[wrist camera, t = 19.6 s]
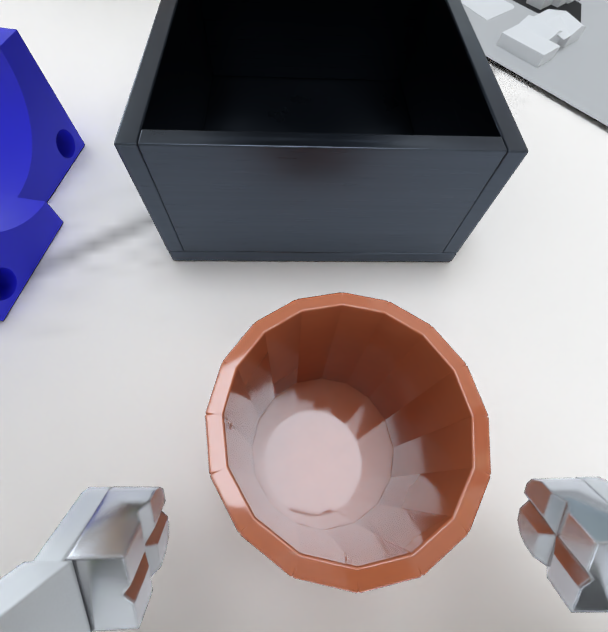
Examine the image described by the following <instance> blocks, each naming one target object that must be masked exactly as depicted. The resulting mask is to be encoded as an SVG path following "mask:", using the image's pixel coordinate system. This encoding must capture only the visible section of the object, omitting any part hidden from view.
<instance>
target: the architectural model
mask: <svg viewBox="0 0 608 632" xmlns="http://www.w3.org/2000/svg"><path fill="white" fill-rule="evenodd" d="M461 2H462V4H463V7H464V9H465V11H466V13H467V16H468V18H469V20H470V22H471V24H472V27H473V29H474V31H475V33H476V36H477V38H478V40H479V42H480V44H481V47H482V49H483V51H484V53H485V56H487V57H488V58H490V59H492V60H494V61H495V62H497V63H499V64H500V65H502V66H504V67H506V68H507V69H509V70H511V71H513V72H514V73H516V74H518V75H520V76H521V77H523V78H525V79H526V80H528V81H530V82H532V83H533V84H535V85H537V86H539V87H540V88H542V89H544V90H546V91H547V92H549V93H551V94H552V95H554V96H556V97H558V98H559V99H561V100H563V101H565V102H566V103H568V104H570V105H572V106H573V107H575V108H577V109H578V110H580V111H582V112H584V113H585V114H587V115H589V116H591V117H592V118H594V119H596V120H598V121H599V122H601V123H603V124H604V125H606V126H608V0H461Z"/></svg>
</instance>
